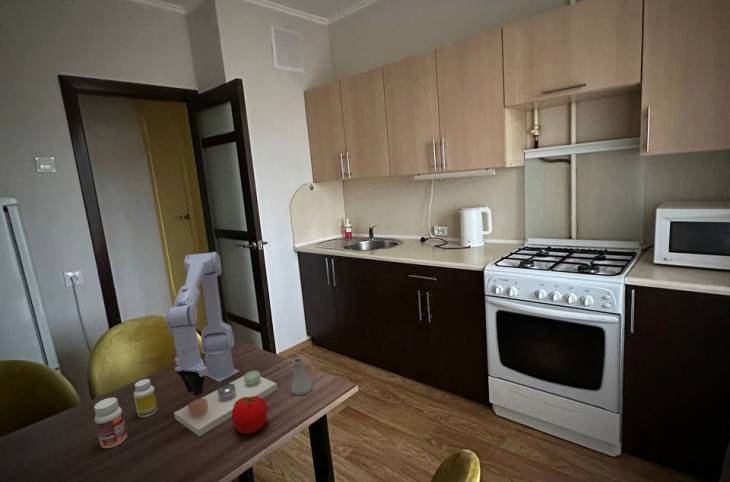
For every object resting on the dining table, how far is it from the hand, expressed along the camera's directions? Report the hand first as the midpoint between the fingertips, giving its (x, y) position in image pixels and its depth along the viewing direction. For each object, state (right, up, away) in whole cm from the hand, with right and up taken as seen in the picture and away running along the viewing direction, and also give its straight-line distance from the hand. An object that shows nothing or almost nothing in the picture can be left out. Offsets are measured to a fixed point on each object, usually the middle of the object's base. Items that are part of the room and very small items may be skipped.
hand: (195, 392), depth 107 cm
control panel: (+6, -7, +8) cm, 12 cm away
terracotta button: (0, -5, +1) cm, 5 cm away
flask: (+28, -4, +12) cm, 31 cm away
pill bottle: (-20, -11, -5) cm, 23 cm away
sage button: (+12, -2, +15) cm, 19 cm away
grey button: (+6, -3, +8) cm, 10 cm away
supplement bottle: (-18, -9, +7) cm, 21 cm away
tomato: (+17, -8, -4) cm, 19 cm away
